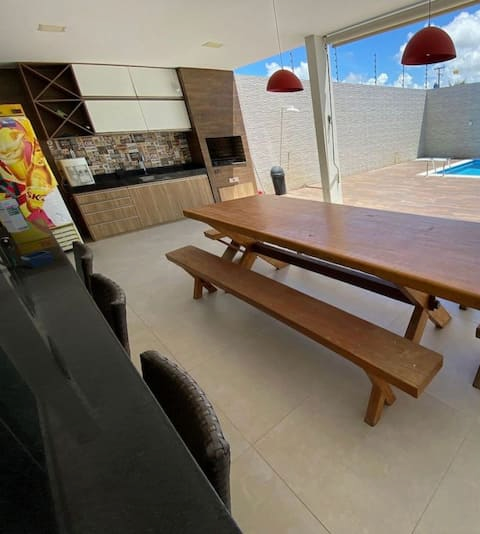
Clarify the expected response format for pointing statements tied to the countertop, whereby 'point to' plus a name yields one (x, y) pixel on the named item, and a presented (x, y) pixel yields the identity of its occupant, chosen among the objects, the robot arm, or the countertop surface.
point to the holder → (37, 259)
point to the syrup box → (13, 216)
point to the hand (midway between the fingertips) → (7, 207)
